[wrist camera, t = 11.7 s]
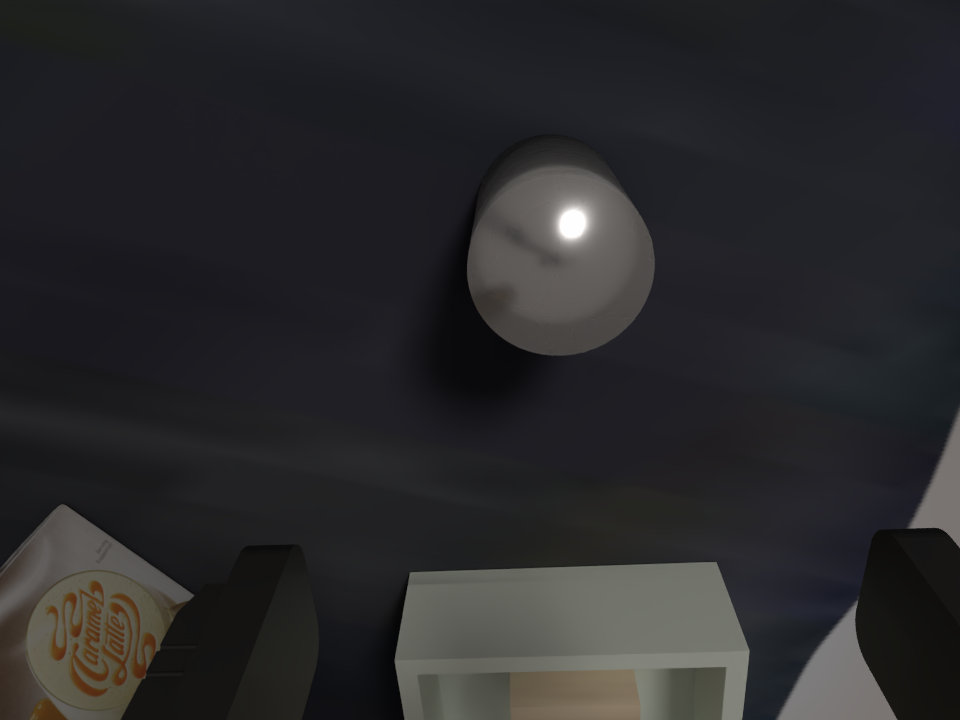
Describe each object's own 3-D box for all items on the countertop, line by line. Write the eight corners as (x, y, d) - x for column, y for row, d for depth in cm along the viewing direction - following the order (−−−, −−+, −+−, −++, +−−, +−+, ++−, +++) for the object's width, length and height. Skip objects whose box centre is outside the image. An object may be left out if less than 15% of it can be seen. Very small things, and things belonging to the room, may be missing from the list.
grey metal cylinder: (471, 140, 25) (459, 183, 19) (619, 128, 25) (656, 170, 19) (482, 278, 27) (474, 360, 21) (619, 270, 27) (652, 350, 21)
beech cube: (510, 612, 33) (510, 707, 29) (622, 608, 33) (640, 704, 28) (516, 691, 35) (516, 791, 31) (621, 689, 35) (638, 790, 30)
